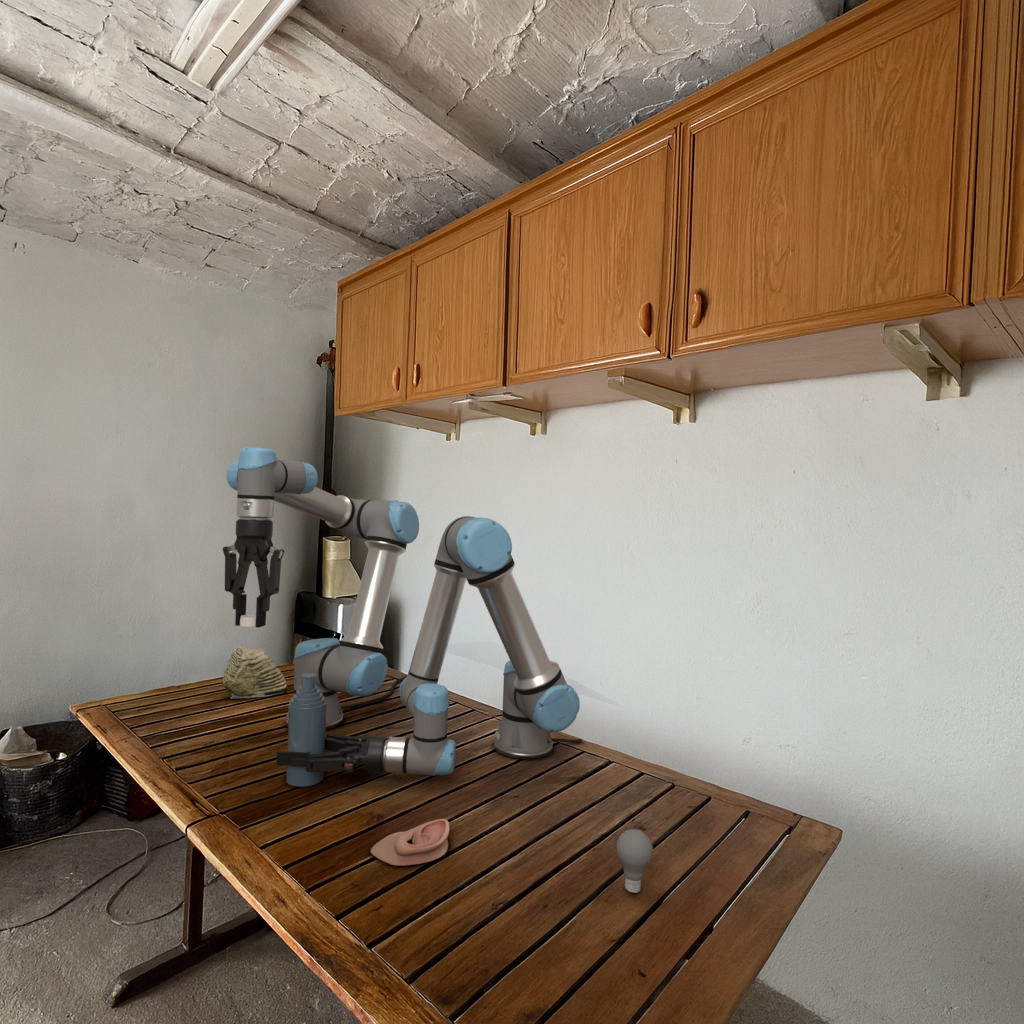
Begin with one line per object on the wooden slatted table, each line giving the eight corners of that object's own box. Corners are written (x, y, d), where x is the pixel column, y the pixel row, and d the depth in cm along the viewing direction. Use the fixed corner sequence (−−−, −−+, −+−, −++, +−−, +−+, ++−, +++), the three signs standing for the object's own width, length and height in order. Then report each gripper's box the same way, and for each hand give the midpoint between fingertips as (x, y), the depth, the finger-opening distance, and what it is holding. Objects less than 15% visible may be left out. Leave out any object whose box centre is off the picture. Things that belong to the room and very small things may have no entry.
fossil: (218, 695, 195) (220, 647, 195) (278, 685, 208) (279, 640, 207) (228, 703, 189) (230, 653, 188) (289, 692, 201) (290, 645, 201)
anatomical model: (363, 838, 111) (389, 807, 122) (362, 860, 111) (388, 827, 122) (436, 849, 108) (455, 817, 119) (435, 872, 108) (454, 838, 119)
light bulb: (610, 879, 108) (613, 822, 108) (644, 879, 109) (647, 822, 109) (619, 902, 102) (622, 840, 102) (655, 901, 103) (658, 840, 103)
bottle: (286, 788, 137) (290, 680, 136) (286, 773, 144) (289, 670, 144) (324, 784, 139) (328, 678, 139) (322, 769, 147) (326, 669, 147)
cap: (244, 627, 136) (244, 618, 135) (237, 624, 139) (237, 615, 139) (264, 625, 138) (264, 616, 138) (256, 622, 142) (257, 613, 142)
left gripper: (208, 517, 136) (203, 625, 136) (282, 521, 133) (277, 631, 133) (229, 516, 143) (225, 619, 144) (300, 520, 141) (295, 625, 141)
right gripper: (375, 792, 131) (265, 788, 131) (394, 752, 152) (299, 748, 152) (376, 757, 131) (267, 752, 131) (395, 721, 152) (300, 717, 152)
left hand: (250, 625), depth 139 cm, fingers closed on cap, 4 cm apart
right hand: (284, 750), depth 142 cm, fingers closed on bottle, 8 cm apart
